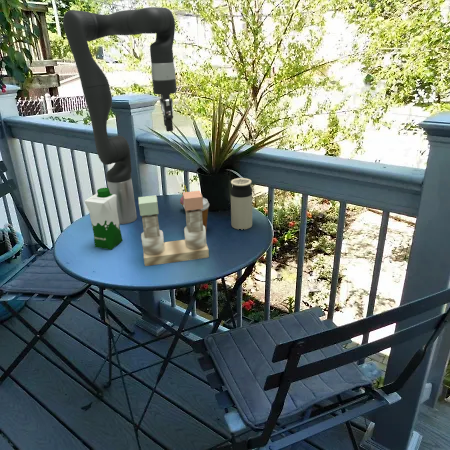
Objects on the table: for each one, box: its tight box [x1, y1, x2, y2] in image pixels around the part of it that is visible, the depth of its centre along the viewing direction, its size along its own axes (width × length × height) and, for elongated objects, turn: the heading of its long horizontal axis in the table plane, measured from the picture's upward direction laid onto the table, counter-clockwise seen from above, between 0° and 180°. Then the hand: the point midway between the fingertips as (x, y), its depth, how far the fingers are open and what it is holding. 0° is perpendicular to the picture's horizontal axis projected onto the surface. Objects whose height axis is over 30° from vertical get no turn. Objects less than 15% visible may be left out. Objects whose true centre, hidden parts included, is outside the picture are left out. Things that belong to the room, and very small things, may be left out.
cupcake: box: [179, 184, 188, 206], centre depth 165 cm, size 9×8×12 cm
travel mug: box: [230, 177, 253, 230], centre depth 149 cm, size 8×8×18 cm
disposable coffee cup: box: [182, 197, 210, 230], centre depth 148 cm, size 10×10×12 cm
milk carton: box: [84, 187, 123, 251], centre depth 139 cm, size 9×9×20 cm
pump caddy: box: [140, 209, 210, 267], centre depth 131 cm, size 21×9×16 cm, turn 102°
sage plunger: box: [138, 194, 160, 217], centre depth 127 cm, size 6×6×11 cm
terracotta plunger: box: [182, 190, 204, 211], centre depth 129 cm, size 6×6×11 cm
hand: (168, 128), depth 136 cm, fingers open, 8 cm apart
